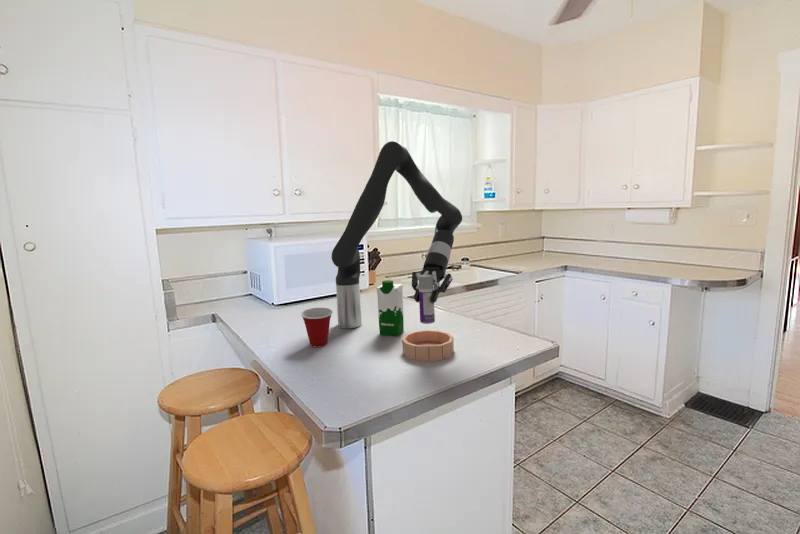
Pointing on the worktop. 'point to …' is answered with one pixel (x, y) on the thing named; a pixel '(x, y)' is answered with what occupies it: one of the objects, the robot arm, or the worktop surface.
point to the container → (426, 299)
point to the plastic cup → (317, 325)
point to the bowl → (428, 345)
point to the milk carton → (390, 308)
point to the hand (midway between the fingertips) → (424, 301)
